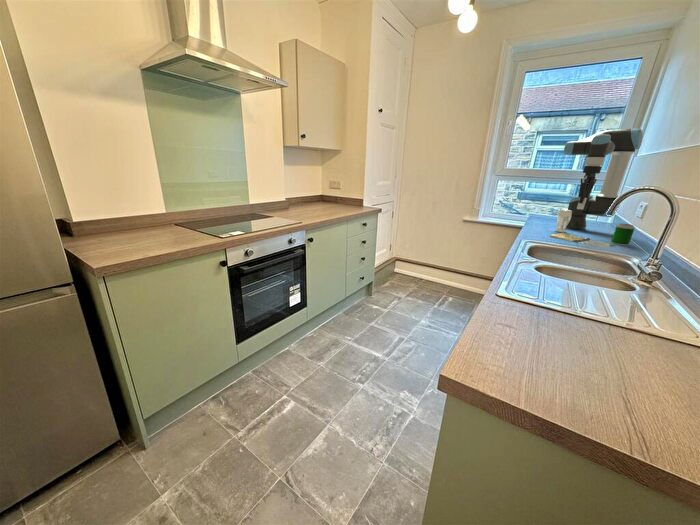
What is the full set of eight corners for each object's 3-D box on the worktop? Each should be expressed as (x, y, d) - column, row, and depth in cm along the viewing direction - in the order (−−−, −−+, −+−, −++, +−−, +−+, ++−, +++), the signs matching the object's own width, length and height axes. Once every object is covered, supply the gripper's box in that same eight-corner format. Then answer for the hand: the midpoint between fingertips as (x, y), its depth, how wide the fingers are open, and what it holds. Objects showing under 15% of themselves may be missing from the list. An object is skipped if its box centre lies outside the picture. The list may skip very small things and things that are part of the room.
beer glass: (555, 233, 185) (562, 210, 180) (551, 231, 191) (558, 208, 187) (567, 234, 183) (574, 211, 178) (563, 232, 190) (570, 209, 185)
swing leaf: (563, 234, 177) (564, 231, 176) (589, 241, 166) (591, 238, 165) (549, 236, 169) (550, 233, 169) (576, 244, 158) (577, 240, 157)
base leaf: (585, 241, 167) (587, 237, 166) (616, 247, 155) (617, 243, 155) (572, 243, 160) (573, 239, 159) (603, 250, 148) (604, 246, 147)
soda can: (631, 247, 156) (639, 226, 152) (617, 247, 156) (625, 225, 152) (619, 244, 163) (627, 223, 159) (606, 243, 163) (613, 223, 159)
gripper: (590, 165, 160) (578, 207, 168) (579, 165, 154) (566, 208, 162) (606, 166, 154) (593, 209, 162) (595, 165, 148) (581, 210, 156)
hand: (579, 209), depth 162 cm, fingers closed
